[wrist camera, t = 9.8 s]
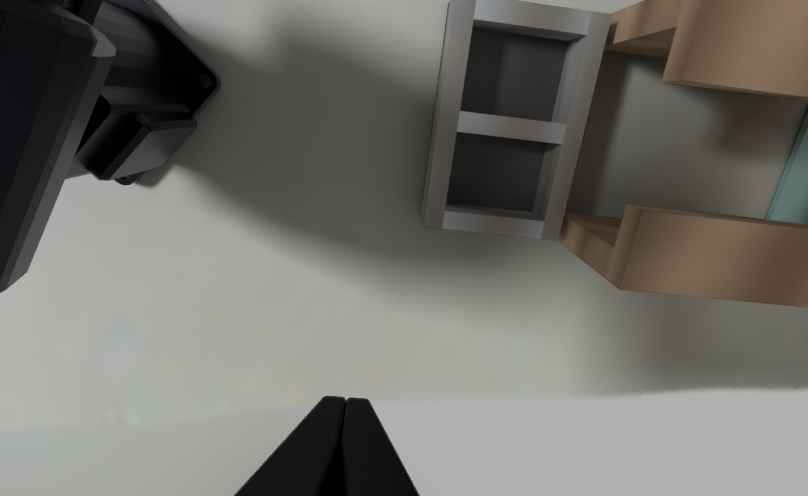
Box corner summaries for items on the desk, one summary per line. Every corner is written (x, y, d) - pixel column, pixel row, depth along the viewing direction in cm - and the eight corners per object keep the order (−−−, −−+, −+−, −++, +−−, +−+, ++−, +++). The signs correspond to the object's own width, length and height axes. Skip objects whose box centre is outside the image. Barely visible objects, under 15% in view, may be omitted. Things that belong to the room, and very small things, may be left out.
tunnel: (419, 221, 21) (434, 271, 14) (449, -5, 18) (483, -64, 11) (885, 269, 22) (1074, 332, 16) (983, 72, 19) (1261, 57, 13)
